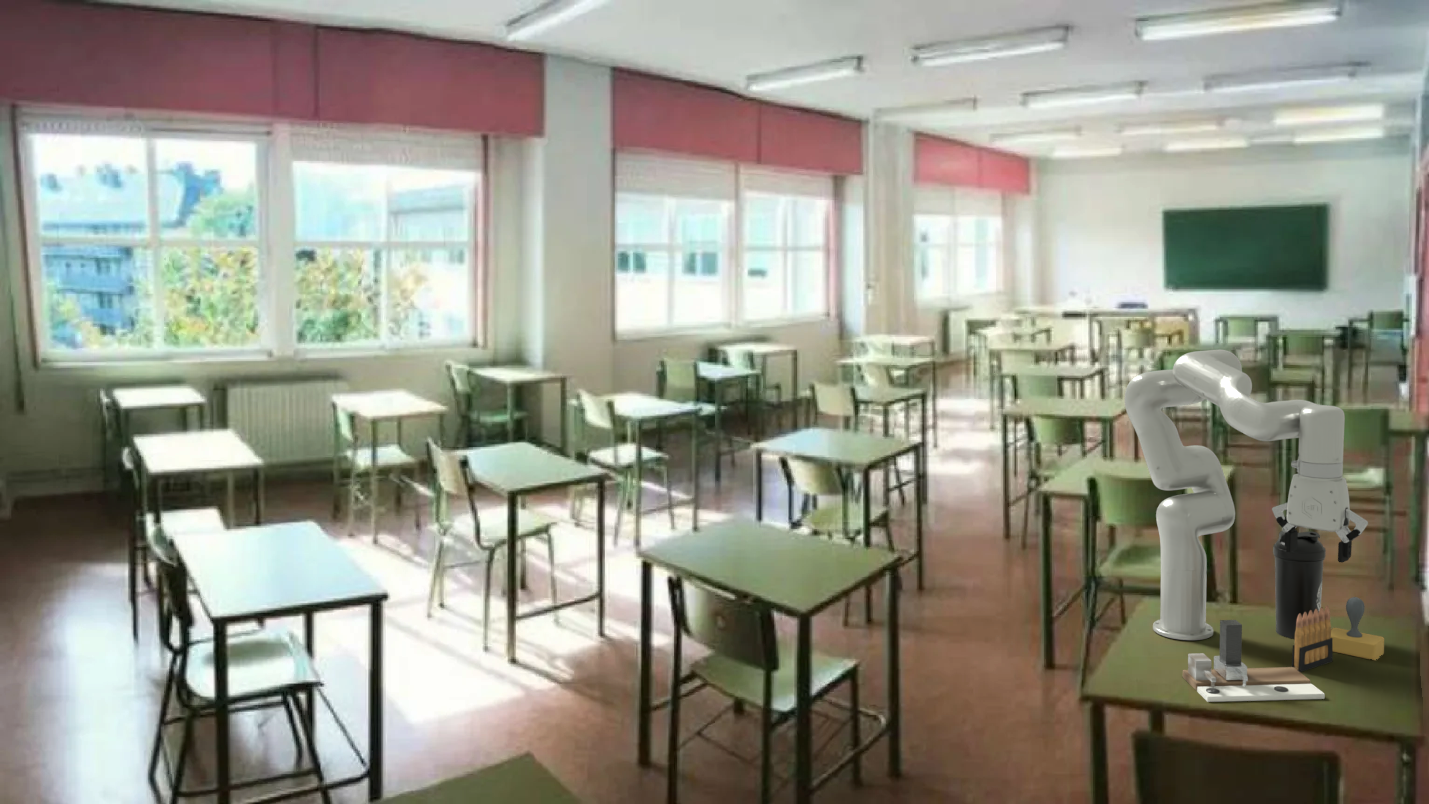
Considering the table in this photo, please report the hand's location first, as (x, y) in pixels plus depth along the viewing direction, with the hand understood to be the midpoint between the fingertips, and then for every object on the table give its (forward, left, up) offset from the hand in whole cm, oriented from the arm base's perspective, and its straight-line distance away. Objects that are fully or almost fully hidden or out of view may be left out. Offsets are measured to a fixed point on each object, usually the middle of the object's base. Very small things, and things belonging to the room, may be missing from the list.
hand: (1317, 556), depth 213 cm
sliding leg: (0, -15, -24) cm, 29 cm away
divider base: (0, -12, -26) cm, 29 cm away
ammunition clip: (-10, +5, -27) cm, 29 cm away
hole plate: (+4, -12, -26) cm, 29 cm away
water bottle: (-29, +11, -26) cm, 41 cm away
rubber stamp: (-17, +17, -27) cm, 36 cm away
